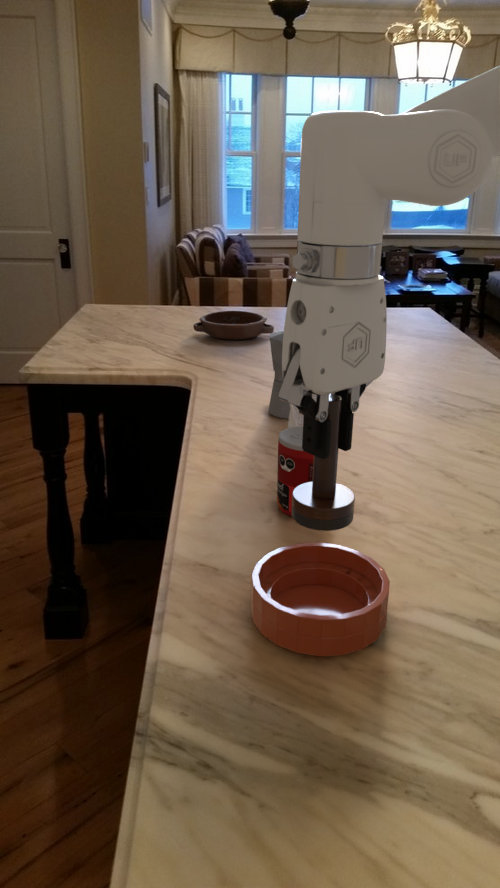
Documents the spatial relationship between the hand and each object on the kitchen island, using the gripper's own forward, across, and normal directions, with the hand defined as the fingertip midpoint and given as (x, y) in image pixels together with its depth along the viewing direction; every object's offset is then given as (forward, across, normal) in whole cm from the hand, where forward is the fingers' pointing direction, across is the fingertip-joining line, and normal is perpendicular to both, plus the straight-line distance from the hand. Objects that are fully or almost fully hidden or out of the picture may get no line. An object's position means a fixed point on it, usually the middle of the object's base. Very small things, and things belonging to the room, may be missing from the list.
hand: (326, 449), depth 70 cm
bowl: (+20, 0, -1) cm, 20 cm away
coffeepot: (+20, +42, +48) cm, 67 cm away
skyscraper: (+20, +26, +28) cm, 42 cm away
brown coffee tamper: (+8, 0, 0) cm, 8 cm away
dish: (+20, +73, +103) cm, 128 cm away
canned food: (+20, +16, +18) cm, 32 cm away
